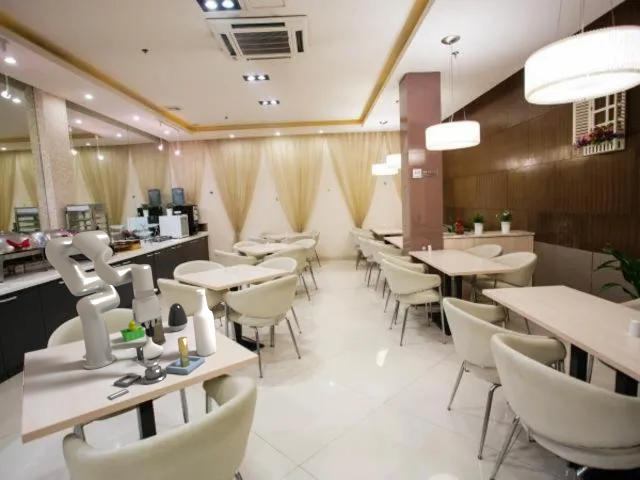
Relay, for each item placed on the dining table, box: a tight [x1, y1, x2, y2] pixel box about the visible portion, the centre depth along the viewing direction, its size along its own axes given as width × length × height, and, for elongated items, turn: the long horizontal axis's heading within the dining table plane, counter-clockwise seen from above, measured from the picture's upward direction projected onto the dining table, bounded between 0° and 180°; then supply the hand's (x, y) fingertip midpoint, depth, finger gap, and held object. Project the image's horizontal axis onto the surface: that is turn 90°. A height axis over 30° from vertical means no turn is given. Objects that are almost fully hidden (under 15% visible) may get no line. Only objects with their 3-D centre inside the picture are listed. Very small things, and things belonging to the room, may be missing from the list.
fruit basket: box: [120, 319, 146, 342], centre depth 183 cm, size 11×9×11 cm
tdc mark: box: [107, 388, 130, 401], centre depth 127 cm, size 6×3×1 cm, turn 143°
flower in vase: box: [142, 321, 165, 360], centre depth 158 cm, size 13×11×25 cm
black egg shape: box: [167, 302, 189, 332], centre depth 192 cm, size 10×10×15 cm
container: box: [148, 307, 167, 346], centre depth 174 cm, size 9×9×18 cm
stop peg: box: [177, 336, 190, 367], centre depth 146 cm, size 4×4×12 cm
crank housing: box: [113, 365, 167, 388], centre depth 137 cm, size 17×12×4 cm
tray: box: [165, 355, 206, 375], centre depth 146 cm, size 11×11×2 cm
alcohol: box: [192, 288, 217, 358], centre depth 158 cm, size 9×9×30 cm
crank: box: [135, 345, 159, 371], centre depth 140 cm, size 13×4×7 cm, turn 53°
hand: (150, 336), depth 145 cm, fingers closed
